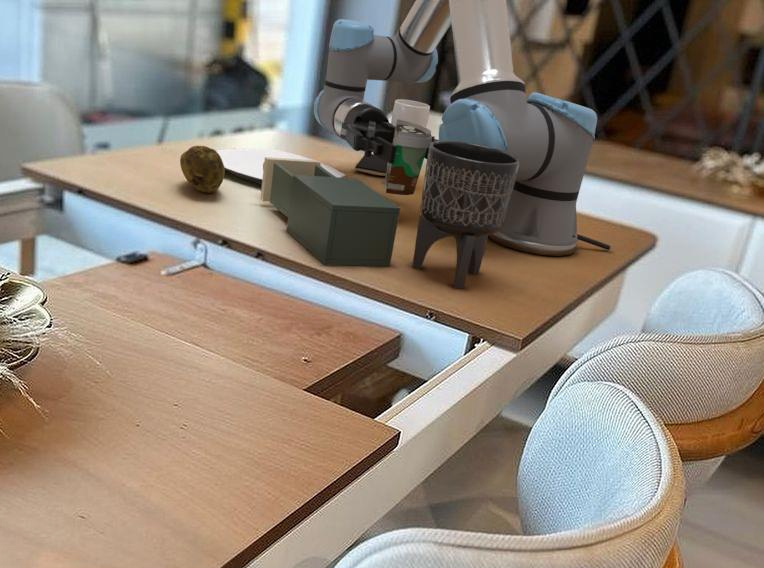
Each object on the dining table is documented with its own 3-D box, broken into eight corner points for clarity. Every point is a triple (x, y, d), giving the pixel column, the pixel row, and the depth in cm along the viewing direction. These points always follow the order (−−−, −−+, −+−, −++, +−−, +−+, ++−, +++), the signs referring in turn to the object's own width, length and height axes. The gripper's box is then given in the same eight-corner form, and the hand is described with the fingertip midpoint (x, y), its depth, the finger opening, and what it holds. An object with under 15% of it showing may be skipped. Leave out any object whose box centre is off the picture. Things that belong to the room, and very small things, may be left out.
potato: (233, 188, 174) (237, 140, 170) (216, 205, 163) (221, 154, 159) (186, 179, 174) (189, 131, 170) (166, 196, 163) (169, 145, 159)
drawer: (250, 190, 171) (254, 149, 167) (302, 193, 175) (307, 152, 171) (291, 226, 156) (296, 181, 153) (346, 228, 160) (353, 184, 156)
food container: (422, 202, 166) (436, 139, 161) (385, 194, 165) (399, 131, 160) (419, 185, 176) (432, 126, 171) (384, 178, 176) (397, 118, 171)
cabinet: (286, 231, 156) (293, 174, 152) (348, 233, 161) (356, 178, 156) (324, 265, 145) (332, 204, 140) (390, 266, 149) (400, 207, 145)
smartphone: (400, 159, 210) (391, 173, 197) (399, 164, 211) (390, 179, 198) (365, 152, 211) (354, 166, 198) (364, 158, 211) (354, 172, 198)
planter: (395, 275, 146) (417, 148, 137) (420, 255, 156) (443, 136, 147) (481, 297, 143) (510, 169, 134) (500, 275, 154) (529, 155, 145)
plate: (360, 187, 189) (362, 177, 188) (273, 197, 173) (274, 186, 172) (274, 156, 200) (275, 145, 199) (184, 162, 184) (185, 151, 183)
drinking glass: (422, 189, 195) (437, 108, 187) (394, 190, 191) (409, 106, 184) (401, 180, 199) (415, 99, 192) (374, 180, 196) (387, 98, 188)
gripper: (411, 150, 187) (470, 183, 170) (304, 143, 178) (355, 177, 161) (418, 108, 183) (480, 137, 166) (309, 98, 174) (362, 127, 157)
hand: (419, 156), depth 164 cm, fingers closed on food container, 9 cm apart
